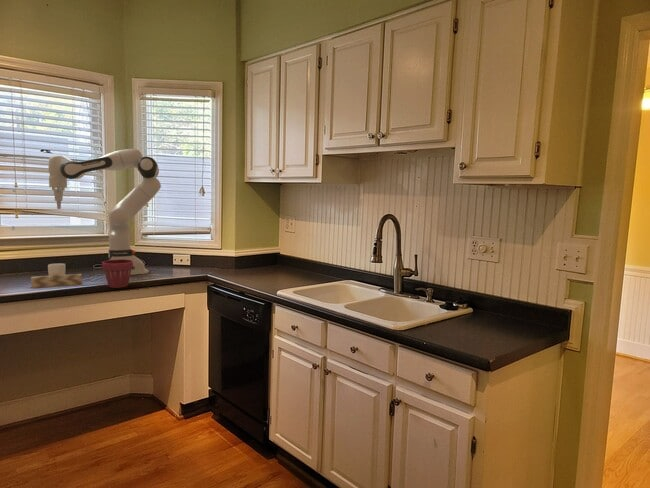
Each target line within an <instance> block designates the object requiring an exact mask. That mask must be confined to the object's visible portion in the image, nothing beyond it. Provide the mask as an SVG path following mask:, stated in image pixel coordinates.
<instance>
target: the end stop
mask: <svg viewBox="0 0 650 488" xmlns="http://www.w3.org/2000/svg"><path fill="white" fill-rule="evenodd" d="M82 274H83V273H77V274H74V273H73V274H65V275H55V276H49V275H39V276H31V277H30V281H31V283H30V284H31V285H30V286H31V289H32V288H35V289H36V288H45V287H47V288H48V287H61V286H76V285H77V286H78V285H83V278H82V277H83V275H82Z"/></svg>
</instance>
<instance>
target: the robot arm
mask: <svg viewBox="0 0 650 488" xmlns="http://www.w3.org/2000/svg"><path fill="white" fill-rule="evenodd" d="M133 168H134V169H137V171H138V172H139V174H140V175H141V176H142V179H141V181H140V182H139V183H138V184H137V185H136V186H135V187H133V189H132V190H130V191H129V192H128V193H127V194H126V195H125V196H124V197H123V198H122V199H121V200H120V201H119V202H118V203H117V204H116V205H114V207H112V208H111V209H110V210H109V212H108V239H109V241H108V245H109V249H108V260H116V259H127V260H132V261H133V268H132V269H131V273H130V276H132V275H133V276H134V275H143V274H148V273H149V272H150V271H149V269H147V268H146V267H145V263H144V261H142V260H141V259H140V258H138V257H137V256H136V255H135V254H136V250H134V249H132V248H131V235H130V232H131V231H130V221H132V219H133V218H134V217H135V216H136V215H137V214H138V213H139V212H140V211H141V210H142V209H143V208H145V206H146V205H147V204H148V203H149V202H150V201H151V200H152V199H154V197H155V196H156V194H158V192H160V189H161V187H162V185H161V181H160V180H159V179H158V178H157V177H158V176H159V173H160V169H159V165H158V163H157V162H156V160H155V159H154V158H153V157H151V156H143V155H142V152H141V151H140V150H139V149H137V148H128V149H127V148H126V149H120V150H116V151H112V152H110V153H107V154H104V155H103V156H100V157H96V158H91V159H88V160H83V161H82V160H80V161H76V160H72V159H70V158H69V157H66V156H65V155H62V154H59V155H58V154H57V155H53V156H50V157H49V159H48V173H49V175H48V176H49V177H48V186H49V188H51V190H52V191H53V195H54V201H55V202H56V208H57V209H58V210H61V209H62V202H63V199H64V198H63V197H64V191H65V189H67V188H68V179H69V180H78V179H81V178H83V177H84V176H85V175H86V173H89V172H95V171H99V170H100V171H102V170H104V171H105V170H106V171H122V170H123V171H124V170H127V169H133Z"/></svg>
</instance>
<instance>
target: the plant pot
mask: <svg viewBox="0 0 650 488" xmlns="http://www.w3.org/2000/svg"><path fill="white" fill-rule="evenodd" d="M101 267H102V270H103V271H104V274H105V279H106V281H107V284H108V287H109V288H111V289H112V288H116V289H119V288H124V287H127V286H129V283H130V282H129V281H130V277H131V275H130V273H131V269H132V268H133V261H132V260H127V259H116V260H109V259H108V260H104V261H102V262H101Z"/></svg>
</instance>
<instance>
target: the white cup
mask: <svg viewBox="0 0 650 488" xmlns="http://www.w3.org/2000/svg"><path fill="white" fill-rule="evenodd" d="M47 272H48V276H55V275H66V263H49V264H48V265H47Z"/></svg>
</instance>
